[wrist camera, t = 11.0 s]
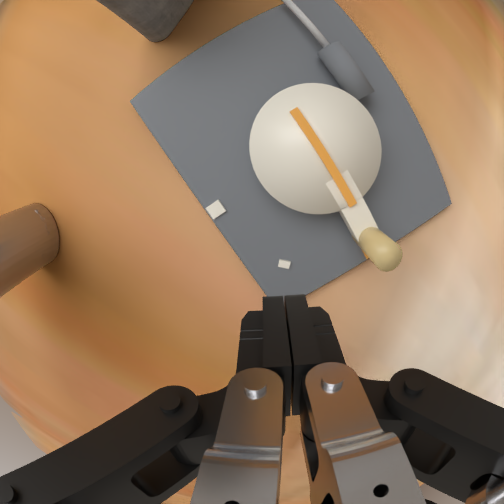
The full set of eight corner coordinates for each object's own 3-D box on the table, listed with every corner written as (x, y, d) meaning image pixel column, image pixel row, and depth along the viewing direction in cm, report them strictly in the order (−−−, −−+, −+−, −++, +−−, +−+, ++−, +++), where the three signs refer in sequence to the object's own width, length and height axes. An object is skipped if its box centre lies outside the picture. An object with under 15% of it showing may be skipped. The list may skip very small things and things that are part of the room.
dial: (226, 130, 24) (212, 123, 18) (328, 69, 21) (348, 45, 15) (320, 271, 29) (334, 305, 22) (410, 213, 26) (445, 233, 20)
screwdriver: (379, 89, 21) (366, 95, 20) (360, 98, 23) (346, 106, 23) (296, -13, 17) (278, -13, 16) (283, 1, 20) (265, 3, 19)
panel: (277, 304, 33) (277, 311, 32) (134, 102, 25) (128, 100, 24) (446, 201, 27) (452, 204, 26) (321, -7, 19) (323, -12, 18)
